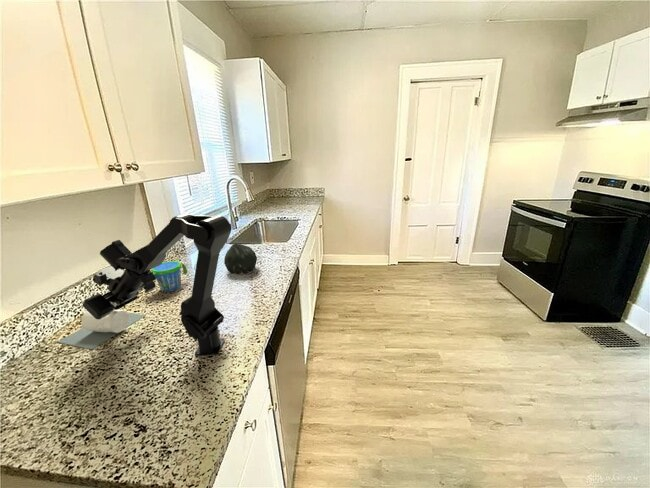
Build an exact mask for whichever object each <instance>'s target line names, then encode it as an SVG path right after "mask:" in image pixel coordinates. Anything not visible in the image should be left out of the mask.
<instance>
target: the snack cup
mask: <svg viewBox="0 0 650 488" xmlns="http://www.w3.org/2000/svg"><path fill="white" fill-rule="evenodd" d="M181 268H182V273H183V274H184V275H187V274H188V269H187V266H186V265H185V263H183V262H180V261H176V260H175V261H174V260H172V261H171V260H170V261H165V262H164V261H163V262H162V264H161V265H159V266H157V267H155V268H152V269H151V272H153V274H154V275H155V277H156V280H155V281H156V282H157V284H158V287H159V288H160V291H162V292H173V291H176V290H178V289H180V287H181V286H182V275H181Z"/></svg>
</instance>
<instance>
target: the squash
mask: <svg viewBox="0 0 650 488" xmlns="http://www.w3.org/2000/svg"><path fill="white" fill-rule="evenodd" d="M257 261H258V257H257V253H256V252H255V251H254V250H253V249H252V247H250V246H249V245H245V244H242V243H233V244H232V245H231V246H230V248H229V249H228V250H227V251H226V253H225V256H224V261H223V264H224V266H225V267H226V270H227V272H228V273H230V274H235V275H241V274H248V273H249V272H252V271H254V270H255V267H256V264H257Z"/></svg>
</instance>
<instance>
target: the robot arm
mask: <svg viewBox="0 0 650 488" xmlns="http://www.w3.org/2000/svg"><path fill="white" fill-rule="evenodd" d="M231 233H232V224H231V223H230V222H229V220H228V219H227V217H225V216H223V215H219V214H218V215H214V216H213V215H201V214H200V215H199V214H197V215H196V214H192V213H183V214H179V215H176V216H173V217H172V218H171V219H170V220H169V223H167V224H166V226H164V227H163V228H162V230H161V231H160V232H159V233H158V234H157V235H155V237H154V238H153V239H152V240H151V241H150V242H149V243H148V244H147V245H145V246H143V247H141V248H139V249H137V250H135V251H133V252H132V250H131V249H130V250H129V248H127V246H126V245H125V244H124V243H123V242H122V241H121V240H120V239H117V240H113V241H112V242H111V243H110V244H109V245H107V246H105V247H104V248H103V249H101V250H100V251H99V255H100V257H102V258H103V260H105V261H106V262H107V263H108V264H109V266H107V267H105V268H102V269H100V270H98V271H97V272H95V274H94V275H93V278H92V281H93V283H95V284H96V285H97V286H103V285H105V286H108V287H107V288H106V289H107V291H108V292H106V293H103V294H102V293H101V294H100V293H96V294H93V295H92V296H90V297H88V298H85V299H84V300H83V303H82V307H83V308H84V309H85V310H86V311H88V312H89V313H90V314H91V315H92V316H93V317H94V318H95V319H101V318H103V317H105V316H107V315H109V314H110V313H111V312H112V311H113V310H118V309H119V310H121V309H122V308H124V307H126V306H127V305H128V304H131V303H132V302H134V301H137V300H138V299H139V297H138V296H139V295H140V292H141V291H142V290H143V289H144V293H145V294H148V293H150V292H152V291H153V290H154V289H155V288H156V287H157V285H156V282H155V281H157V280H156V277H155V275H154V274H153V272H152V268H155V267H157V266H159V265H161V264H162V263H164V261H165V259H166V258H167V253H168V251H169V250H170V249H171V248H172V247H174V245H175V244H177V243H178V241H180V239H182V238H183V237H185V238H187V239H189V240H193V244H194V245H195V248H196V249H197V252H198V253H197V257H196V258H197V259H196V265H195V272H194V277H193V284H192V292H191V295H190V296H189V297H187V298H186V299H185V300H183V301H182V302H181V303H180V312H179V314H178V316H180V321H181V323H182V325H183V327H184V329H185V331H186V332H187V335H188V336H189V338H193V340H195V341H196V340H197V344H198V347H197V348H196V350H195V352H194V356H210V355H211V356H212V355H213V356H214V355H218V354H220V352H221V349H222V347H223V345H224V343H225V338H224V337H223V338H222V337H220V332H219V325H220V324H221V323H223V322H224V319H225V316H224V315H223V313H221V311H219V310H218V308H216V302H215V300H214V298H213V297H212V294H213V289H214V284H215V278H216V274H217V273H216V272H217V267H218V262H219V257H220V252H221V251H222V249H223V248H224V246H225V245H226V244H227V242H228V240H229V237H230V236H231Z"/></svg>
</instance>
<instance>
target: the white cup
mask: <svg viewBox="0 0 650 488" xmlns="http://www.w3.org/2000/svg"><path fill="white" fill-rule="evenodd" d="M128 313H129V312H127V311H126V310H124V309H118V310H113V311H112V312H111V313H110V314H109V315H107V316H105V317H103V318H101V319H95V318H94V317H93V316H92V315H91V314H90V313H89V312H88V311H87V310H86V311H85V312H84V313H83V315H82V317H81V326H82V327H81V328H84V329H85V330H87V331H94V332H112V333H117V334H119V333H122V332H123V331H124V330H125V329H127V328H128V327H127V325H128V323H129V320H130V317H129V314H128ZM126 327H127V328H126ZM118 332H119V333H118Z"/></svg>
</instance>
